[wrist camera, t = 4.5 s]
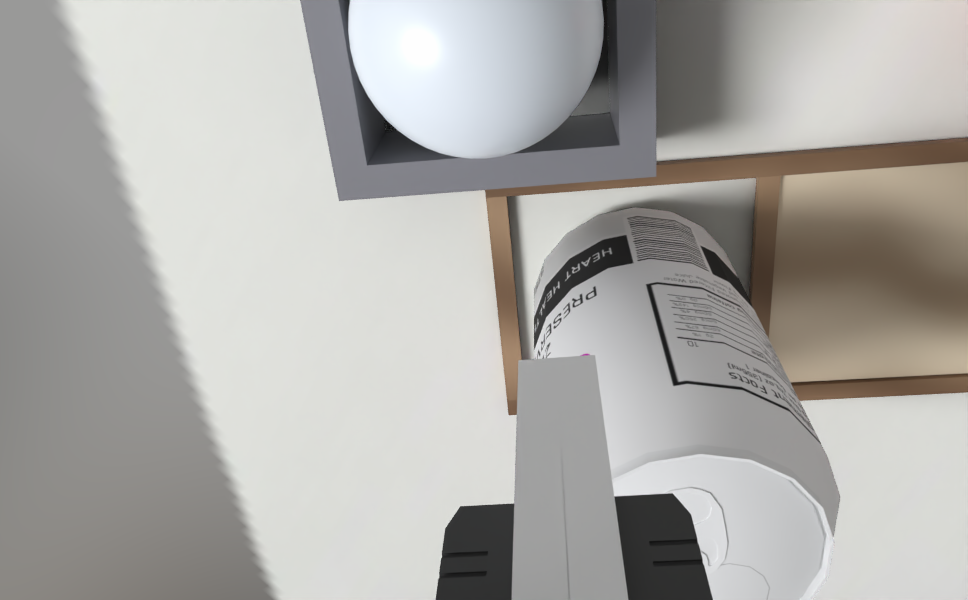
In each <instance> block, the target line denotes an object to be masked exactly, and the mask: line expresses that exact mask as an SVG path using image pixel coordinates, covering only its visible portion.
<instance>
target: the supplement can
mask: <svg viewBox="0 0 968 600" xmlns="http://www.w3.org/2000/svg"><path fill="white" fill-rule="evenodd" d="M587 355H595V359H596V366H597V373H598V381H599V388H600V395H601V403H602V410H603V417H604V425H605V432H606V439H607V447H608V454H609V461H610V469H611V476H612V483H613V491H614V496H631V495H650V494H668V493H673V494H674V495H675V496H676V498H677V499H678V500H679V501H680V502H681V503H682V504H683V506H684V507H685V508H686V509H687V510H688V511H689V512H690V514H691V516H692V520H693V524H694V528H695V531H696V535H697V541H698V544H699V547H700V551H701V555H702V559H703V564H704V567H705V571H706V574H707V578H708V582H709V586H710V590H711V594H712V598H713V600H813V599H814V598H815V596H816V595H817V593H818V592H819V590H820V589H821V588H822V586H823V585H824V583H825V582H826V580H827V579H828V577H829V572H830V566H831V560H832V554H833V548H834V543H835V542H834V539H833V537H834V531H835V525H836V519H837V513H838V508H839V502H840V494H839V491H838V488H837V485H836V482H835V479H834V476H833V472H832V469H831V466H830V463H829V460H828V457H827V455H826V453H825V451H824V449H823V447H822V445H821V443H820V441H819V439H818V437H817V435H816V433H815V431H814V429H813V427H812V425H811V423H810V421H809V419H808V417H807V415H806V413H805V411H804V409H803V407H802V405H801V403H800V401H799V399H798V397H797V395H796V393H795V391H794V389H793V387H792V385H791V383H790V381H789V379H788V377H787V375H786V373H785V371H784V369H783V367H782V365H781V363H780V361H779V359H778V357H777V355H776V353H775V351H774V349H773V346H772V344H771V342H770V340H769V338H768V336H767V334H766V332H765V330H764V328H763V326H762V324H761V322H760V320H759V318H758V316H757V314H756V312H755V310H754V308H753V306H752V304H751V302H750V300H749V298H748V296H747V294H746V292H745V290H744V288H743V286H742V284H741V282H740V280H739V278H738V276H737V274H736V272H735V270H734V268H733V266H732V264H731V262H730V260H729V258H728V256H727V254H726V252H725V251H724V250H723V249H722V247H721V246H720V245H719V244H718V243H717V242H716V241H715V240H714V239H713V238H712V236H711V235H710V234H709V233H708V232H707V231H706V230H705V229H704V228H703V227H702V226H700V225H698V224H696V223H694V222H692V221H690V220H688V219H685V218H683V217H681V216H679V215H677V214H675V213H673V212H670V211H662V210H653V209H644V208H636V207H634V208H630V209H625V210H620V211H616V212H611V213H606V214H601V215H598V216H596V217H594V218H593V219H591V220H589V221H587V222H586V223H584V224H582V225H581V226H579V227H577V228H575V229H574V230H572V231H570V232H569V233H567V234H566V235H565V236H564V237H563V239H562V240H561V241H560V242H559V243H558V245H557V246H556V247H555V248H554V249H553V250H552V252H551V253H550V254H549V255H548V256H547V257H546V259H545V260H544V263H543V266H542V269H541V271H540V274H539V277H538V280H537V283H536V286H535V288H534V359H544V358H558V357H572V356H587Z"/></svg>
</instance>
